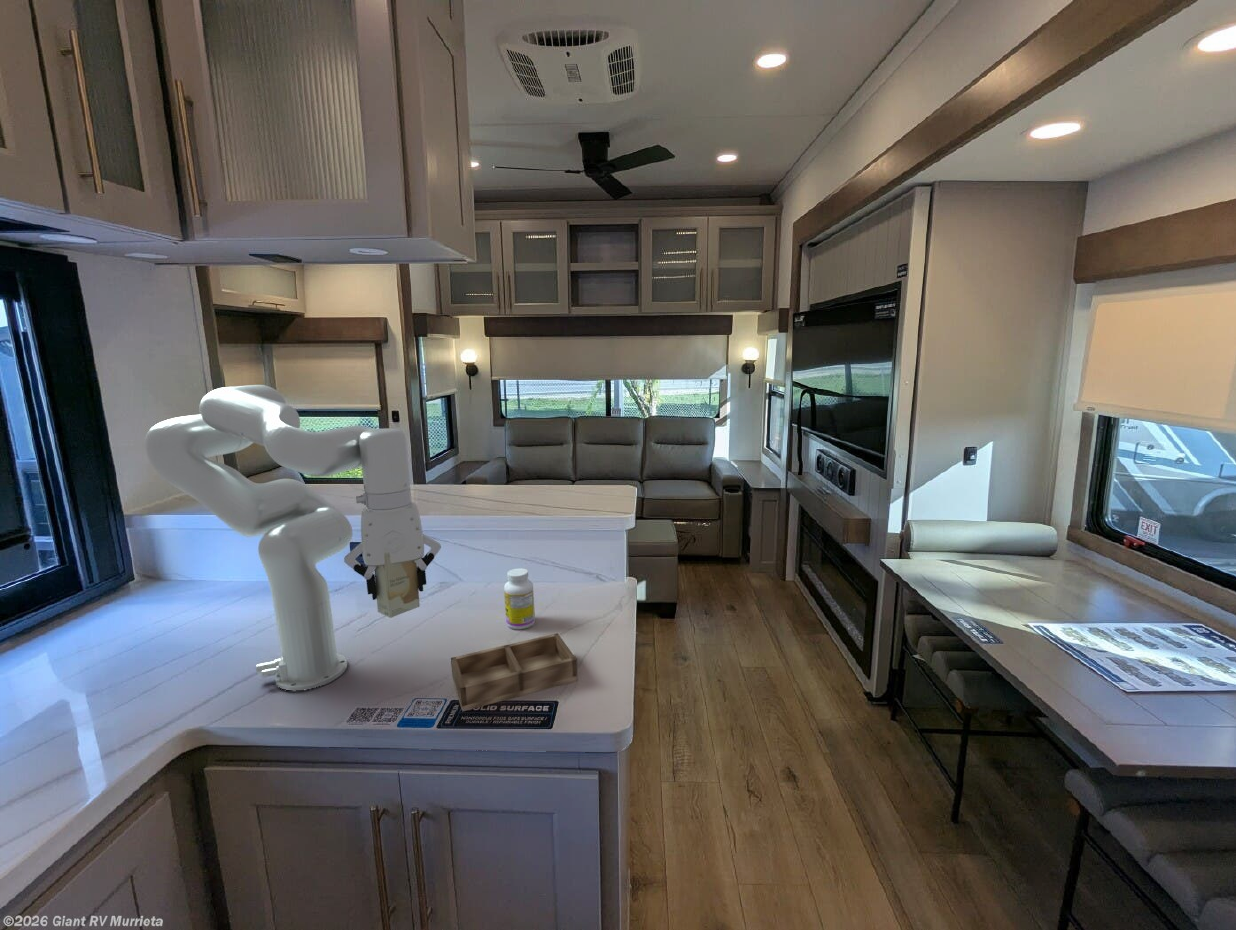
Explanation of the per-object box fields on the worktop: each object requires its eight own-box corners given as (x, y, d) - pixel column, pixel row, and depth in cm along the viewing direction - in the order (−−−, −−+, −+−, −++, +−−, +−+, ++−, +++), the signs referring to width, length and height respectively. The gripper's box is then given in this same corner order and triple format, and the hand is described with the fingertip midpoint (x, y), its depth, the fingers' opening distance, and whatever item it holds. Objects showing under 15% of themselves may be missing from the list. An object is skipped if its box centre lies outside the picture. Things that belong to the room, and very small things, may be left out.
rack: (462, 711, 100) (460, 688, 99) (452, 678, 110) (450, 657, 110) (577, 680, 109) (576, 659, 108) (558, 652, 119) (557, 633, 118)
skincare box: (390, 619, 101) (383, 553, 98) (376, 612, 103) (370, 548, 101) (422, 606, 106) (416, 543, 103) (408, 600, 108) (402, 539, 106)
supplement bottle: (509, 617, 136) (506, 566, 133) (537, 616, 135) (534, 566, 133) (503, 630, 129) (500, 577, 127) (532, 630, 129) (529, 577, 126)
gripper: (333, 510, 93) (345, 610, 97) (442, 498, 100) (450, 591, 104) (334, 500, 100) (345, 593, 104) (437, 488, 107) (444, 577, 111)
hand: (397, 592), depth 104 cm, fingers closed on skincare box, 7 cm apart
